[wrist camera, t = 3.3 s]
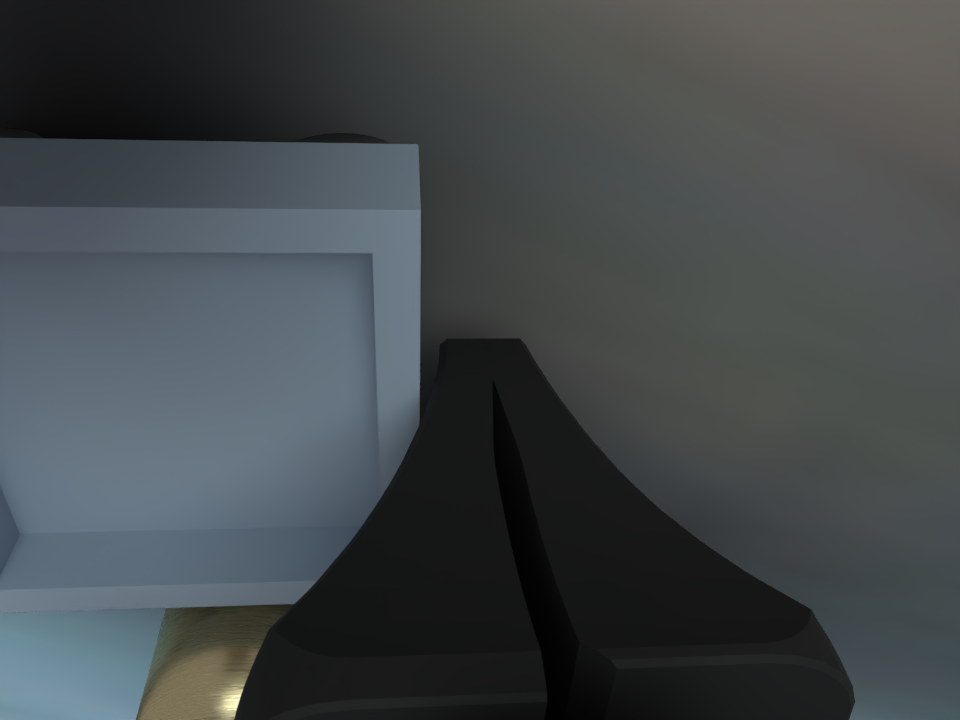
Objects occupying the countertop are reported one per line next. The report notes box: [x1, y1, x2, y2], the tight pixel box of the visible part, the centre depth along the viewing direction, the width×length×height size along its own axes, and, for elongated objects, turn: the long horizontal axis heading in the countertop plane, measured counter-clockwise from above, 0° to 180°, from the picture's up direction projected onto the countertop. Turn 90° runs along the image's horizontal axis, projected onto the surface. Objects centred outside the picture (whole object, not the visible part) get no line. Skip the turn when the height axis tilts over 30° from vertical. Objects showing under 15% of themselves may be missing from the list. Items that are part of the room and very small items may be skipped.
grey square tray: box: [0, 128, 421, 613], centre depth 14 cm, size 8×8×4 cm
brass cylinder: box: [136, 604, 294, 720], centre depth 17 cm, size 4×4×6 cm
